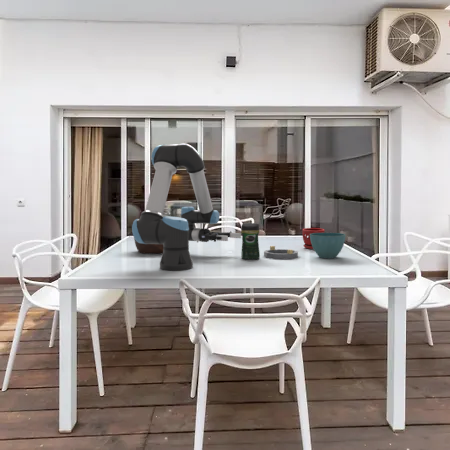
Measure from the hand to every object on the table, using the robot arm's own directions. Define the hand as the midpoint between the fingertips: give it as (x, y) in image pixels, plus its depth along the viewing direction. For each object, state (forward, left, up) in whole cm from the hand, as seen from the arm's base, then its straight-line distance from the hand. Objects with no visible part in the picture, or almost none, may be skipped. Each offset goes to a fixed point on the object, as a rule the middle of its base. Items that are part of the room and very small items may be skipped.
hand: (234, 237), depth 213 cm
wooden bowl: (+8, +51, -11) cm, 52 cm away
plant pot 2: (+12, -47, -11) cm, 50 cm away
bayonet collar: (+9, -23, -11) cm, 27 cm away
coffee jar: (-3, -9, -11) cm, 15 cm away
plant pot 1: (+44, -37, -11) cm, 59 cm away
